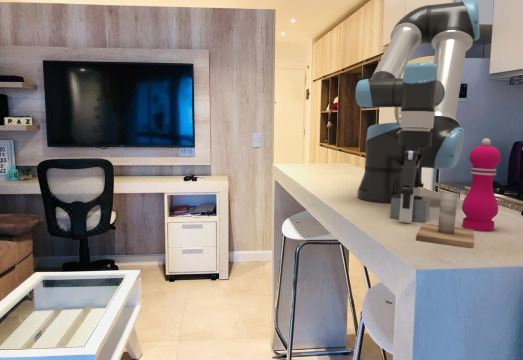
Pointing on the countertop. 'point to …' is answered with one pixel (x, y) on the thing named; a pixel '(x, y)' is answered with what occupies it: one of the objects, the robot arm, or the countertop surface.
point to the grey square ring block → (419, 207)
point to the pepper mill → (481, 189)
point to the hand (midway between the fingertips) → (409, 217)
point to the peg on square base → (446, 226)
